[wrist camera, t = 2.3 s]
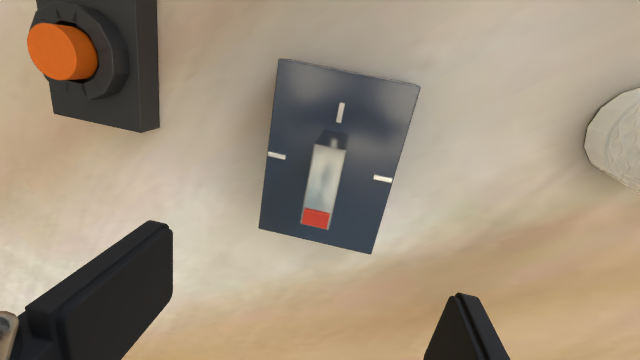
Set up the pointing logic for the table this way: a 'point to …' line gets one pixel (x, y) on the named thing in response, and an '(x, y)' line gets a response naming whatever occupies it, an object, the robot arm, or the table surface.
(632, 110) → the white cup
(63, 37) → the button
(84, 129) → the table surface
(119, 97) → the button box
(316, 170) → the knob
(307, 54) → the table surface
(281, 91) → the console
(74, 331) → the robot arm
